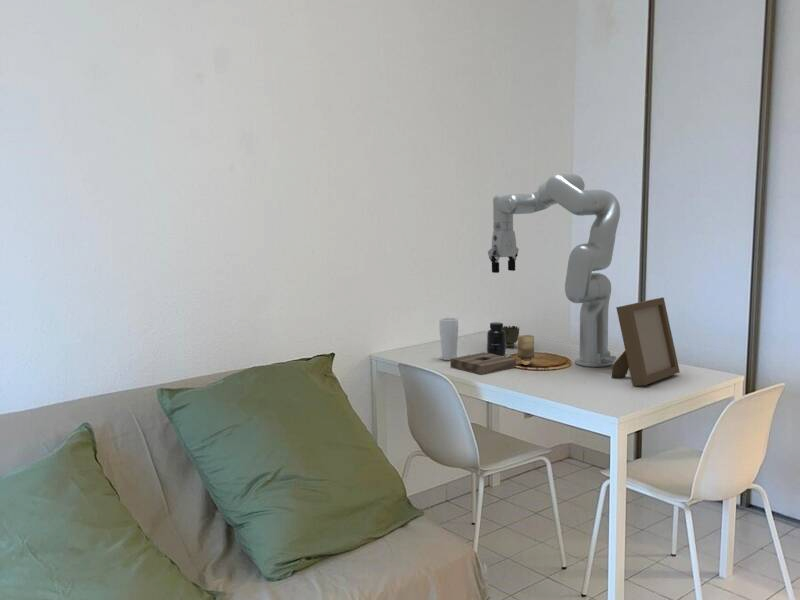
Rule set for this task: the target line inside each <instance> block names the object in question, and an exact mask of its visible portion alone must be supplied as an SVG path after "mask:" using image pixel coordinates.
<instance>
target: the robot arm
mask: <svg viewBox="0 0 800 600" xmlns="http://www.w3.org/2000/svg"><path fill="white" fill-rule="evenodd" d="M585 186H586V185H585V181H584V180H583V178H582V177H581V176H579V175H578V174H575V173H555V174H553V175H551V176H550V177H549V178H548V179H547V181H546V182H543V183H541V184H540V185H539V186H538V188H537V191H534V192H531V193H512V194H498V195H494V197H493V198H492V205H493V206H492V209H493V210H492V212H493V213H492V214H493V215H492V218H493V222H492V223H493V225H492V227H493V230H492V237H491V248H490V249H488V251H487V256H488V258H489V260H490V263H491V272H492V273H496V274H499V273H500V262H499V260H500V259H501V258H508V260H507V270H508V271H511V272H515V271H516V261H517V257H518V254H519V247H517V239H516V233H515V230H514V215H521V214H522V215H523V214H524V215H525V214H526V215H527V214H533V213H538V212H540V211H543V210H547V209H548V208H550V207H551V206H553V205H559V206H561V207H562V208H564V209H565V210H566V211H568V212H569V213H571V214H572V215H576V216H577V217H578V216H580V217H582V216H596V217H595V220H594V221H593V223H592V225H591V226H590V231H589V237H588V241H587V242H586V243H580V244H578V245H576V246H574V247H573V249H572V250H571V252H570V254H569V257H568V262H567V269H566V276H565V283H564V292H565V296H566V298H567V299H568V300H569V301H570V302H571V303H574V304H581V306H580V311H579V357H577V358H575V359H574V363H575V364H576V365H578V366H582V367H590V368H591V367H592V368H600V367H608V366H612V365H613V364H614V363H615V361H616V360H617V357H616V356H615V355H614V356H613V355H611V351H610V350H608V349H609V347H608V345H609V344H608V343H609V305H610V299H611V295H612V294H611V293H612V282H611V280H610V279H609V278H608V277H607V276H606V275H605V274H603V273H600V272H599V273H598V272H597V271H602V270H605V269H607V268H609V267H610V265H611V263H612V260H613V255H614V249H615V244H616V243H615V242H616V236H617V235H616V234H617V229H618V225H619V222H620V217H621V206H620V203H619V200H618V199H617V197H616V196H615V195H614V194H613V193H611V192H610V191H607V190H604V189H585Z"/></svg>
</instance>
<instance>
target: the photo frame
mask: <svg viewBox="0 0 800 600" xmlns="http://www.w3.org/2000/svg"><path fill="white" fill-rule="evenodd" d="M615 309H616V313H617V317H618V318H617V319H618V322H619V327H620V332H621V337H622V340H623V346H624V351H623V352H622V353H621V354H620V356H618V357H617V358H616V360H615V361H614V362H613V363H612V365H611V366H612V368H611V379H616V378H617V379H618V378H626V375H627V373H628V371H629V374H630V375H629V376H630V378H631V384H632V387H637V386H647V385H648V384H649V385H650V384H652V383H654V382H655V383H656V382H657V381H658V382H659V381H660V380H662V379H665V378H666V379H667V378H668V377H671V376H674V375H676V374H680V372H681V371H680V368H679V367H680V366H679V364H678V363H679V362H678V358H677V353H676V349H675V343H674V339H673V333H672V330H671V325H670V320H669V314H668V311H667V306H666V302H665V297H658V298H652V299H648V300H644V301H643V300H642V301H639V302H634V303H629V304H626V305H621V306H616V307H615Z"/></svg>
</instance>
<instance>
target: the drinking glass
mask: <svg viewBox="0 0 800 600" xmlns="http://www.w3.org/2000/svg"><path fill="white" fill-rule="evenodd" d="M458 319H459V318H457V317H442V318H439V336H440V346H441V359H442V360H443V361H450V359H451V358H456V357H457V356H458V355H457V352H458V351H457V350H458V339H459V338H458V337H459V320H458Z"/></svg>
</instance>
